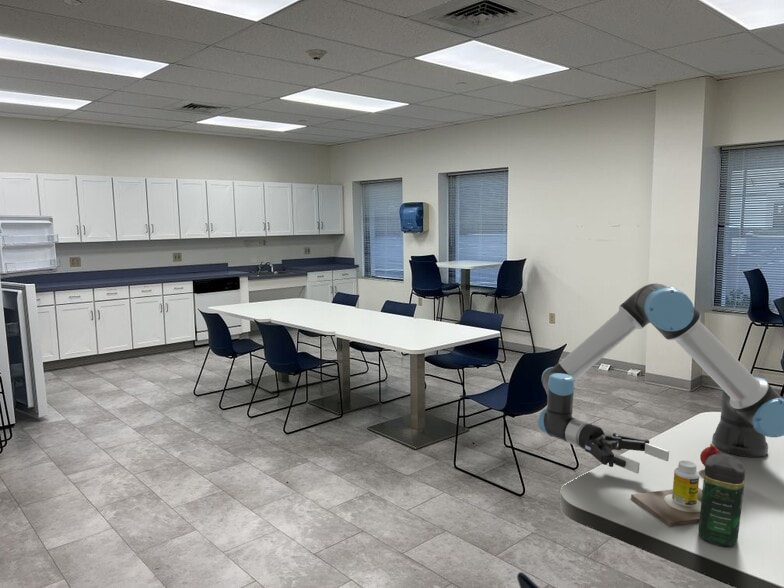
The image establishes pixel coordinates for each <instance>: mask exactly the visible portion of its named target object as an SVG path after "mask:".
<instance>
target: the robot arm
mask: <svg viewBox="0 0 784 588" xmlns="http://www.w3.org/2000/svg"><path fill="white" fill-rule="evenodd" d="M701 318H702V315H701V313H700V312H699V311H698V310H697V309H696V307H694V304H693V302H692V300H691V299H690V297H689V296H688V295H687V294H686V293H684V292H683V291H681V290H680V289H678V288H675V287H669V286H667V285H664V284H662V283H657V282H656V283H649V284H646V285H643V286H642V287H640V288H639V289H637V290H636V291H635V292H634V293H633V294H632V295H630V296H629V297H628V298H627V299H626V300H625V301H623V303H621V304H620V305H619V306H618V311H617V312H615V314H614V315H612V316H611V317H610V318H609V319H608V320H606V321H605V322H604V323H603V324H602V325H601V326H600V327H599V328H598V329H596V330H595V331H594V332H593V333H592V334H591V335H589V336H588V337H587V338H586V339H585V340H584V341H582V342H581V343H580V344H579V345H578V346H577V347H575V348H574V349H573V350H572V351H571V352H569V353H568V355H566V356H565V357H564V358H562V360H560V361H559V362H558V363H557V364H556V365H554V366H551V367H548V368H546V369H545V370H544V371H543V372H542V375H541V383H542V386H543V388H544V390H545V393H546V395H547V401H546V404H547V406H546V409H544V410H542V411H541V412H540V414H539V418H538V419H537V426H538V429H539V430H540V431H541V432H542V433H543V434H546V435H548V436H550V437H553V438H556V439H558V440H561V441H563V442H566V443H568V444H570V445H572V446H574V447H575V448H581V449H583V450H584V451H585V452H587V453H589V454H591V455H592V456H593V457H594V458H595V459H596V460H597V461H598V462H600V463H601V464H602V465H604V466H608V467H609V468H610V467H611V468H614V465H615V466H617V467H620V468H623V469H625V470H628V471H630V472H632V473H635V474H639V473H640V463H641V462H639V461H636V460H633V459H631V458H629V457H625V456H623V455H622V454H621V455H620V454H618V453H616V454H614V453H613V451H614V450H616V451H621V450H629V451H639V452H644V454H647V455H649V456H652V457H654V458H656V459H660V460H662V461H665V462H669V459H670V450H667V449H664V448H661V447H658V446H656V445H653V444H650V440H649V439H647V438H641V437H635V436H629V435H624V434H620V433H616V432H613V433H612V435H611V434H606V433H605V432H604V430H603V428H602V427H600V426H598V425H597V426H596V425H594V424H592V423H589V422H587V421H584V420H581V419H578V418H575V417H573V406H574V393H575V381H576V380H577V379H579V378H580V377H581V376H582V375H583V374H585V373H586V372H587V371H589V369H591V368H592V367H593V366H595V365H596V364H597V363H598V362H599V361H601V359H602V358H604V357H605V356H606V355H607V354H609V353H610V352H611V351H612V350H613V349H614V348H616V347H617V346H618V345H619V344H621V342H623V341H624V340H625V339H626V338H627V337H629V336H630V335H631V334H632V333H633V332H635V331H636V330H642V329H644V327H646V326H647V325H648V324H651V325H652V326H653V327H654V328H655V329H656V330H657V331H658V332H659V333H660V334H661V336H663V337H664V338H665V339H666V340H667V341H675V342H676V343H677V344H678V345H679V346H680V347H681V348H682V349H683V350H684V351H685V352H686V353H687V354H688V355H689V356H690V357H691V358H692V359H693V360H694V361H695V362H696V364H698V365H699V367H700V368H701V369H702V370H704V372H705V374H707V375H708V376H709V377H711V379H712V380H713V381H714V382H715V383H716V384H717V385H718V386H719V387H720V389H721V390H722V398H721V410H720V420H719V422H718V424H717V426H716V428H715V430H714V432H713V435H712V438H711V444H713V445H714V446H715V447H716V448H717V449H718V450H719V451H723V452H725V453H729V454H731V455H735V456H740V457H746V458H761V456H762V457H766V456H767V455H768V453H769V444H768V443H767V439H766V437H767V438H781V437H783V436H784V398H783V397H782V396H781V395H780V394H779V393H778V392H777V391H776V390H775V389H774V388H773V387H772V386H771V385H770V384H769V381H768V380H767V379H765V378H763V377H762V378H761V377H758V376H754V375H753V374H751V372H750V370H748V369H747V368H746V367H745V366H744V365H743V364H742V362H740V361H739V359H738V358H737V357H736V356H734V355H733V354H732V353H731V352H730V350H729V349H728V348H726V346H725V345H724V344H723V343H722V342H721V341H719V339H718V338H717V337H716V336H715V335H714V333H712V332H711V331H710V329H708V327H706V326H705V325H704V324H703V323H702V322H701ZM766 454H767V455H766Z"/></svg>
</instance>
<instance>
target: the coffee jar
mask: <svg viewBox="0 0 784 588" xmlns="http://www.w3.org/2000/svg"><path fill="white" fill-rule="evenodd" d="M745 475H746V467H745V464H744V463H743V461H741V460H740V459H738V458H737V456H733V455H729V454H724V453H722V454H720V453H717V454H714V455H711V456H709V457H708V458H707V460H706V462H705V466H704V472H703V480H702V500H701V511H700V519H699V523H698V535H699V536H700V537H701V539H703V540H705V541H707V542H709V543H711V544H713V545H716V546H721V547H723V546H724V547H725V546H726V547H733V546H735V545H736V544H737V542H738V539H739V532H740V525H741V515H742V507H743V500H744V499H743V497H744V488H745V478H746V476H745Z"/></svg>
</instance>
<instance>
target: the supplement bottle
mask: <svg viewBox="0 0 784 588" xmlns="http://www.w3.org/2000/svg"><path fill="white" fill-rule="evenodd" d="M697 465H698V464H696V463H695V462H693V461H690V460H679V461H678V466H677V467H676V468H675V469H674V471H673V472H674V473H673V484H672V489H673V493H672V499H673V501H674V502H675V503H677V504H679V505H681V506H685V507H693V506H695V505H696V504H697V496H698V488H699V483H700V473H699V472H698V471H697Z"/></svg>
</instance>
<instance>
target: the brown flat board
mask: <svg viewBox="0 0 784 588" xmlns="http://www.w3.org/2000/svg"><path fill="white" fill-rule="evenodd" d="M702 490H703V488H702V489H701V488H699V487H698V496H697V504H696V505H695V506H693V507H685V506H681V505H679V504H677V503H675V502H674V501H673V499H672V493H673V488H672V489H663V490H656V491H650V492H648V491H646V492H638V493H633V494H632V493H631V494H630V499H632V500H633V501H634V502H635V503H637V504H639V505H640V506H641V507H642V508H644V509H645V510H646V511H648V512H649V513H650V514H652V515H653V516H655V517H656V518H657V519H658V520H660V521H661V522H663V523H664V524H665V525H667V526H668V527H676V526H682V525H683V526H684V525H689V524H699V519H700V511H701V500H702Z"/></svg>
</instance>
